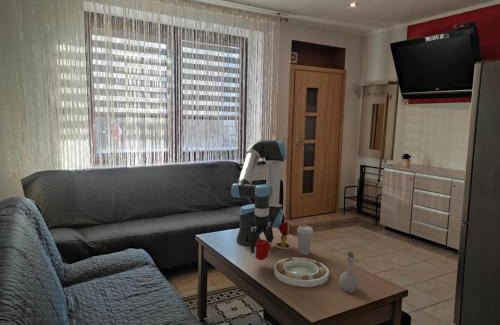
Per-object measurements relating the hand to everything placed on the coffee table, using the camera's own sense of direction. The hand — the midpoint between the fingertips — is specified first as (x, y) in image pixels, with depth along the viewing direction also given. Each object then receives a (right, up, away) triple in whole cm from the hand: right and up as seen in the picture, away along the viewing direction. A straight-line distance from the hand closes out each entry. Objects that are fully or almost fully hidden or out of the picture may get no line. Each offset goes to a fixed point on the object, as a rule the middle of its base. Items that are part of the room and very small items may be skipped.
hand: (260, 255), depth 183 cm
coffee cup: (+26, -4, +20) cm, 33 cm away
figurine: (+14, -2, +28) cm, 32 cm away
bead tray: (+20, -7, -8) cm, 23 cm away
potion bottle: (+40, -9, -23) cm, 47 cm away
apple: (0, -2, 0) cm, 2 cm away
